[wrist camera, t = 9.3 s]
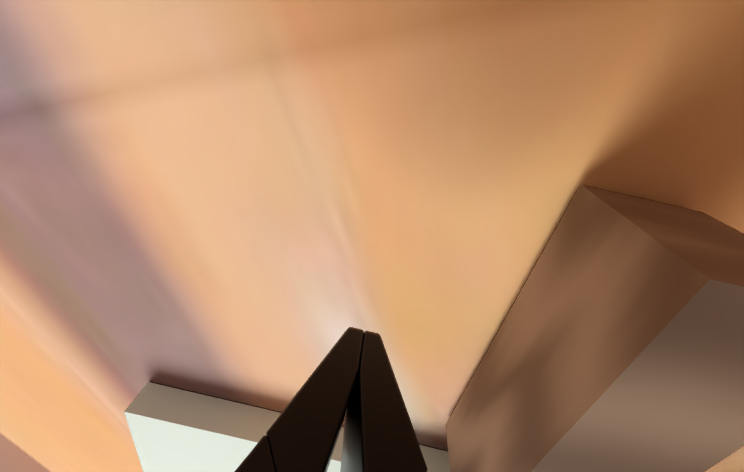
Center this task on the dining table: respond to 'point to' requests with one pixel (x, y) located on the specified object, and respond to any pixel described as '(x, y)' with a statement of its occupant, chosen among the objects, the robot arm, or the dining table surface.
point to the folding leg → (614, 349)
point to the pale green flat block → (211, 432)
